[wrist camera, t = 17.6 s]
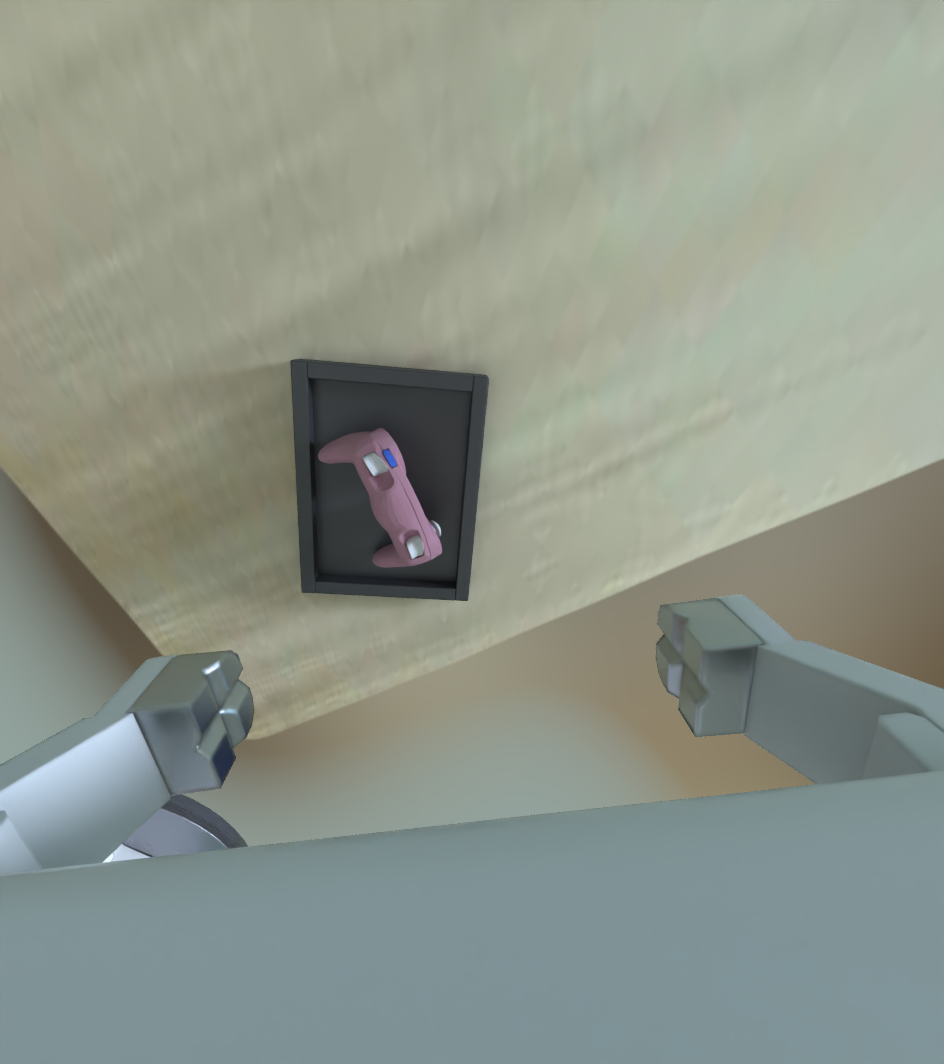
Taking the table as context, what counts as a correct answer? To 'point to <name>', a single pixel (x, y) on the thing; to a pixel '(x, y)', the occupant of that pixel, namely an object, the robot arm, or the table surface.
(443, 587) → the black rectangular tray
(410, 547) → the video game controller
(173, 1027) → the robot arm
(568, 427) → the table surface
